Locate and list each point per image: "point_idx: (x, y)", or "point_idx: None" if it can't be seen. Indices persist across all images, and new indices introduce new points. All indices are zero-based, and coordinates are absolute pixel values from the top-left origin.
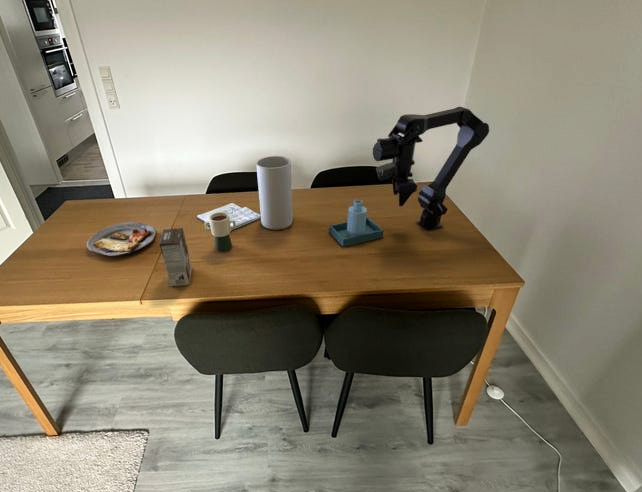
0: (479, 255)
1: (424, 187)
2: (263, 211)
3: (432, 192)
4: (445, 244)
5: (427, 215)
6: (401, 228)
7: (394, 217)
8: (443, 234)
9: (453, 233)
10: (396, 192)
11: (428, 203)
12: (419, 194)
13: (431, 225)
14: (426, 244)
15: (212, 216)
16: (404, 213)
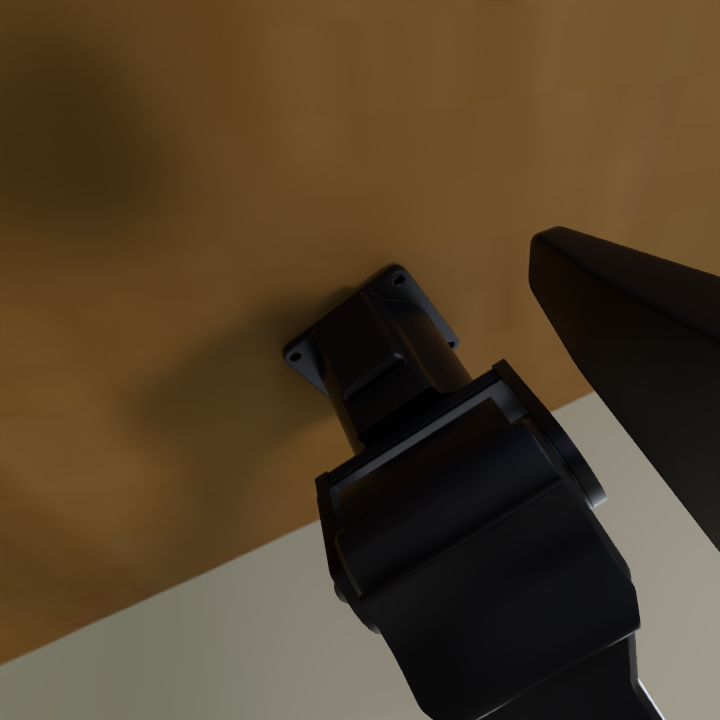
0: (50, 604)
1: (598, 595)
2: None
3: (440, 690)
4: (102, 471)
5: (354, 418)
6: (272, 141)
7: (510, 38)
8: (251, 433)
9: (281, 469)
10: (559, 311)
11: (352, 564)
12: (537, 492)
13: (324, 381)
14: (29, 382)
15: None
16: (578, 133)
